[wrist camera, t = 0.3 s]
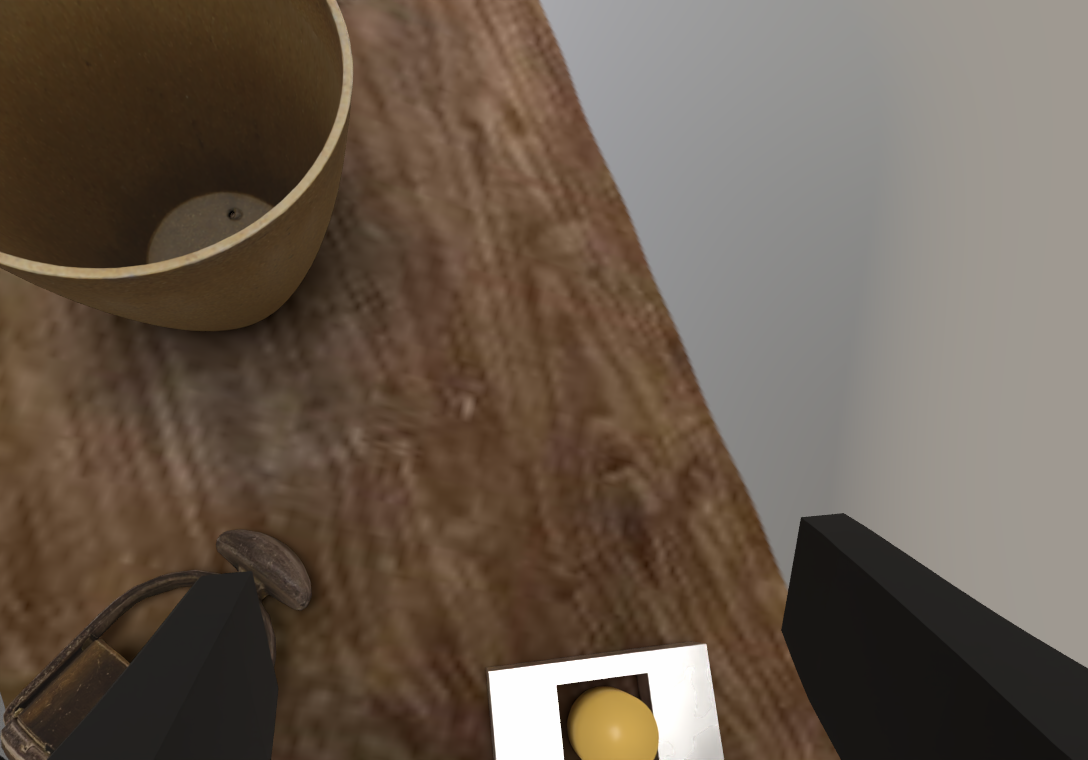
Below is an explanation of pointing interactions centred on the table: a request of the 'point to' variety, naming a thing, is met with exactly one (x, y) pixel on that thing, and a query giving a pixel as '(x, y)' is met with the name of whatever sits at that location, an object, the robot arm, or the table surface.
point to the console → (662, 672)
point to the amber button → (612, 726)
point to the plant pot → (171, 152)
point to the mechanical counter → (95, 666)
